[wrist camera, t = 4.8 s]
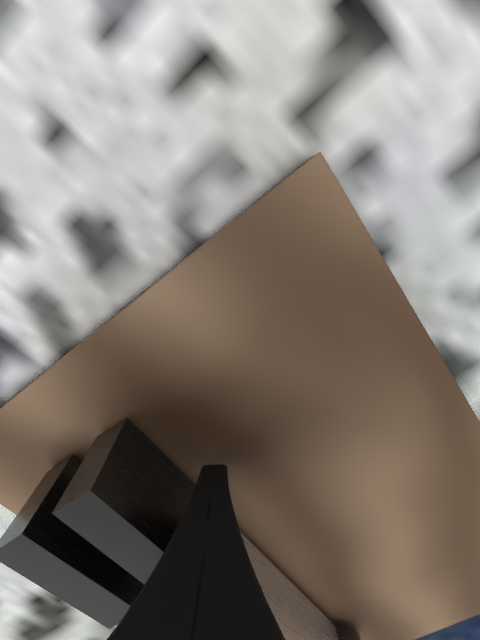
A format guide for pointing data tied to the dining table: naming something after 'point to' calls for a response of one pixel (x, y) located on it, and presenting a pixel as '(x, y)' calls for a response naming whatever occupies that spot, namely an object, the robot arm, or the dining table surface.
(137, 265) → the dining table surface
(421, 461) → the walnut board
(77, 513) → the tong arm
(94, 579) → the fixed tong arm
